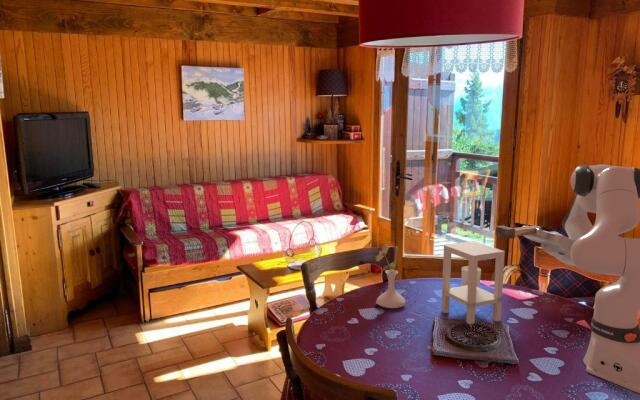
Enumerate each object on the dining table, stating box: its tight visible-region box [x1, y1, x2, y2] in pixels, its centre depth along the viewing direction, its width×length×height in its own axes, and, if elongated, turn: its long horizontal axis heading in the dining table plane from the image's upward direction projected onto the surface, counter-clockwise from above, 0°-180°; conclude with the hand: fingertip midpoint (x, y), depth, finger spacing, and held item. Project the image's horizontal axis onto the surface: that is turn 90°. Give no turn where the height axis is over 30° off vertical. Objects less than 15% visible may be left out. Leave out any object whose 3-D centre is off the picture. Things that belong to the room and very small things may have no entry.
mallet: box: [495, 225, 542, 240], centre depth 188 cm, size 6×18×4 cm, turn 114°
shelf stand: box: [441, 240, 506, 324], centre depth 182 cm, size 16×14×26 cm
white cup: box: [461, 265, 482, 288], centre depth 209 cm, size 8×8×10 cm
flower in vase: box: [375, 244, 407, 309], centre depth 192 cm, size 13×11×25 cm
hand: (532, 228), depth 191 cm, fingers closed on mallet, 3 cm apart
